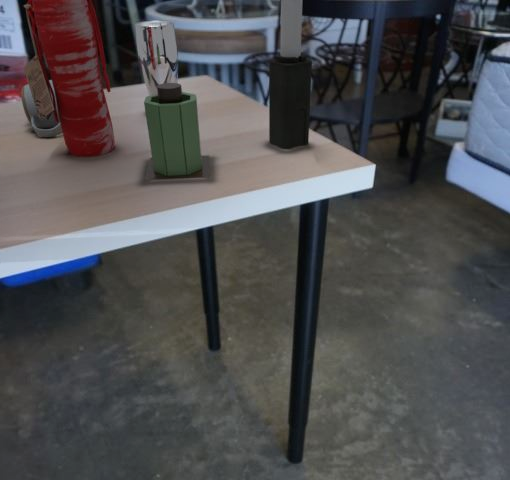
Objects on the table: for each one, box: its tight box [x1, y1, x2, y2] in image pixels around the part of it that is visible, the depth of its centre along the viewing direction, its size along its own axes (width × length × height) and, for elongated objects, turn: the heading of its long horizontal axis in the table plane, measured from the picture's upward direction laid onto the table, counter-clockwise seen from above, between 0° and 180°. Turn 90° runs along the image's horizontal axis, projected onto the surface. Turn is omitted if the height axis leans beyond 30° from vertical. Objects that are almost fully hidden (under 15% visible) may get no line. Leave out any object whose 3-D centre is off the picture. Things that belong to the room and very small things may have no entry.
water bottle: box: [23, 0, 116, 158], centre depth 76 cm, size 12×8×25 cm, turn 98°
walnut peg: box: [144, 83, 211, 181], centre depth 74 cm, size 9×9×12 cm
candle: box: [268, 0, 313, 150], centre depth 77 cm, size 5×5×25 cm
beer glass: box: [134, 19, 179, 96], centre depth 96 cm, size 7×7×15 cm
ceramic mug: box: [20, 79, 63, 138], centre depth 94 cm, size 11×8×8 cm
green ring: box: [143, 91, 202, 176], centre depth 74 cm, size 7×7×9 cm
